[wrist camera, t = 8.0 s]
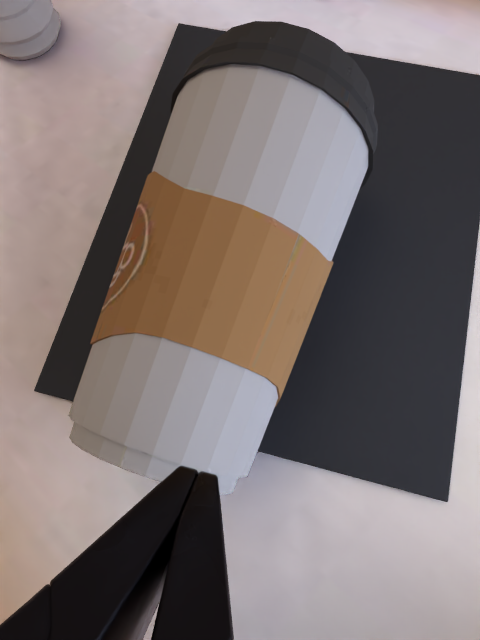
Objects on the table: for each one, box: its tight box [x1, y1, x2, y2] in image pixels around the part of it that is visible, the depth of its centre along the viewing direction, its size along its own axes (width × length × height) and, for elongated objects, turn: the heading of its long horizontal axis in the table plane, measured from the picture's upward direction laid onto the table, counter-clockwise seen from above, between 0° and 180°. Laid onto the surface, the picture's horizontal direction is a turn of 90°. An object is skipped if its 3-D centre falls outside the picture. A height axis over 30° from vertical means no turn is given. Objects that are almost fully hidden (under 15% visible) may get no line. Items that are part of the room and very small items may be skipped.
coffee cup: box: [68, 21, 378, 495], centre depth 17 cm, size 8×8×15 cm
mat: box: [34, 24, 480, 502], centre depth 22 cm, size 22×18×1 cm
